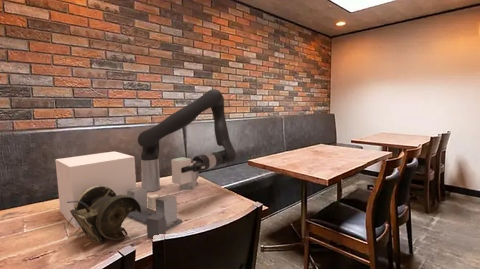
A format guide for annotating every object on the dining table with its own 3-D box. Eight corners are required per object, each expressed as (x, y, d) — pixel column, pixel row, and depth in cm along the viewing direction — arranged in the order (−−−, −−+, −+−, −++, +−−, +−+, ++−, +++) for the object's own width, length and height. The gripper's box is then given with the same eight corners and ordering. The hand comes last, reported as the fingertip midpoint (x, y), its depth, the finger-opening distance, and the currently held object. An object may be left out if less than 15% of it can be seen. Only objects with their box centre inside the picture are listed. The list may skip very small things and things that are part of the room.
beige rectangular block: (147, 206, 124) (147, 196, 123) (155, 204, 126) (155, 193, 126) (152, 208, 121) (151, 198, 120) (160, 206, 124) (159, 195, 123)
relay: (147, 236, 95) (146, 218, 94) (154, 231, 99) (153, 213, 98) (158, 239, 93) (158, 220, 93) (165, 233, 97) (164, 215, 96)
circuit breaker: (199, 182, 160) (198, 158, 158) (193, 190, 146) (192, 163, 144) (187, 182, 161) (186, 158, 159) (179, 189, 147) (178, 163, 145)
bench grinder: (122, 208, 113) (96, 171, 104) (151, 219, 98) (124, 177, 90) (77, 246, 99) (43, 207, 91) (103, 266, 85) (66, 222, 77)
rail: (124, 215, 114) (123, 190, 112) (142, 208, 121) (141, 185, 120) (164, 231, 99) (163, 202, 98) (182, 222, 106) (181, 195, 105)
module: (172, 182, 114) (171, 159, 113) (182, 179, 119) (182, 156, 118) (181, 184, 111) (180, 160, 110) (191, 181, 116) (190, 158, 115)
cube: (118, 198, 135) (114, 151, 133) (137, 209, 121) (134, 156, 118) (60, 213, 117) (55, 159, 114) (75, 228, 103) (69, 166, 100)
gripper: (193, 152, 130) (165, 158, 116) (215, 156, 121) (188, 162, 108) (193, 167, 130) (166, 175, 117) (216, 172, 122) (189, 180, 109)
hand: (177, 169), depth 112 cm, fingers closed on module, 5 cm apart
